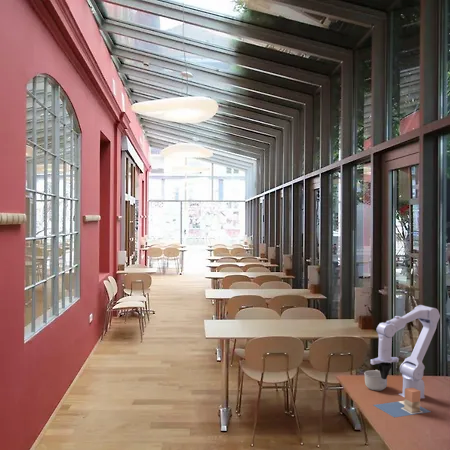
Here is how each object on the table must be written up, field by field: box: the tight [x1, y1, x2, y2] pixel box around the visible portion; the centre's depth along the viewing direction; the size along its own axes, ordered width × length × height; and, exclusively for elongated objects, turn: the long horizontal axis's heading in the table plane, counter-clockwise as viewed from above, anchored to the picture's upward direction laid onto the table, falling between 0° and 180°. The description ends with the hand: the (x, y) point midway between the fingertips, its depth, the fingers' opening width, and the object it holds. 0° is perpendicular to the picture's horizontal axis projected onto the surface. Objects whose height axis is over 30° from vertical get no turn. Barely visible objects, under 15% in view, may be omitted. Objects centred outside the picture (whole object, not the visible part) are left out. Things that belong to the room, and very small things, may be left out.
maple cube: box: [403, 398, 421, 413], centre depth 211 cm, size 4×4×4 cm
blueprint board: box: [373, 400, 432, 418], centre depth 213 cm, size 20×14×1 cm
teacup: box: [363, 369, 388, 392], centre depth 240 cm, size 14×11×8 cm
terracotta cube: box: [404, 388, 421, 402], centre depth 211 cm, size 4×4×4 cm
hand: (383, 378), depth 223 cm, fingers closed
